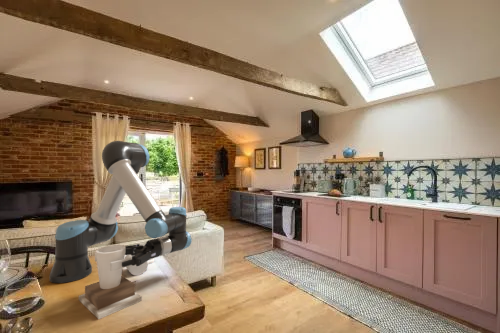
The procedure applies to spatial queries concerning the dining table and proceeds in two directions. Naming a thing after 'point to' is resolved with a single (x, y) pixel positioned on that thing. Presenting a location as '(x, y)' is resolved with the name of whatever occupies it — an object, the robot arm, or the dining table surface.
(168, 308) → the dining table surface
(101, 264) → the foam cup
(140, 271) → the mug
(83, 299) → the build base
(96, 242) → the robot arm
